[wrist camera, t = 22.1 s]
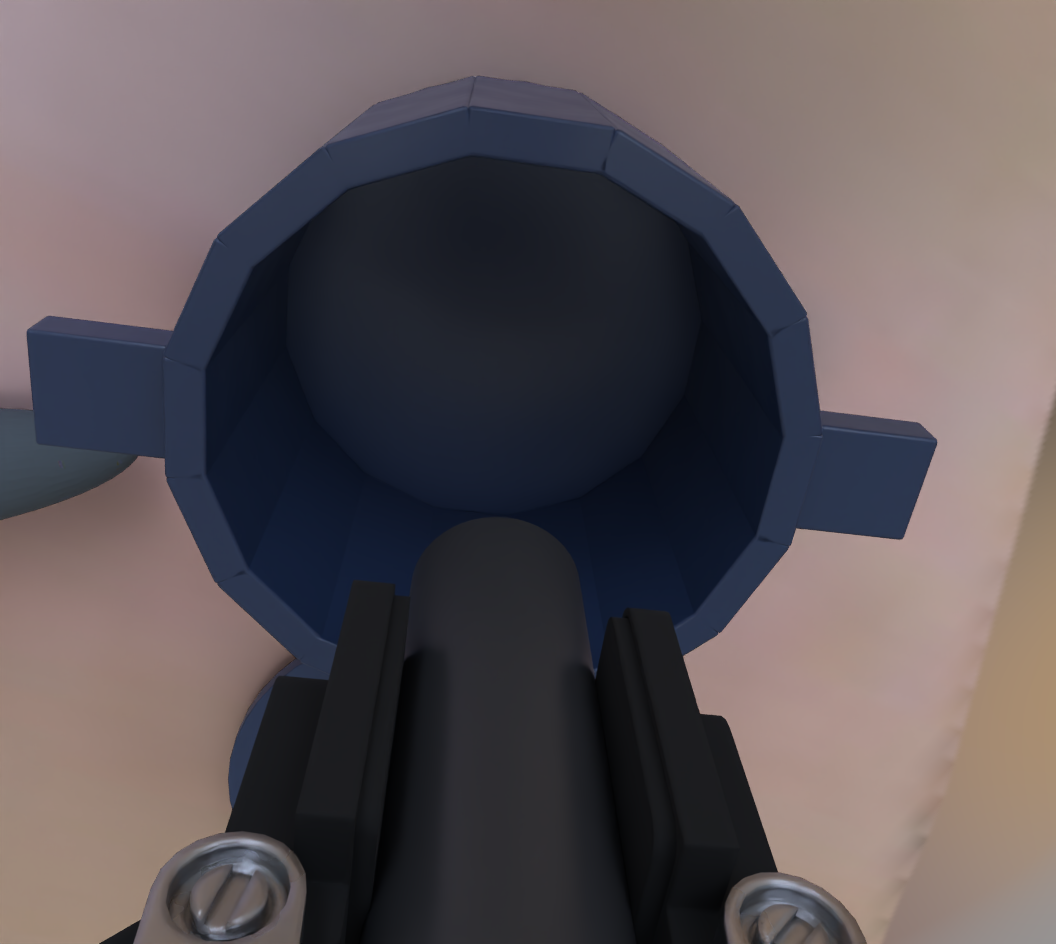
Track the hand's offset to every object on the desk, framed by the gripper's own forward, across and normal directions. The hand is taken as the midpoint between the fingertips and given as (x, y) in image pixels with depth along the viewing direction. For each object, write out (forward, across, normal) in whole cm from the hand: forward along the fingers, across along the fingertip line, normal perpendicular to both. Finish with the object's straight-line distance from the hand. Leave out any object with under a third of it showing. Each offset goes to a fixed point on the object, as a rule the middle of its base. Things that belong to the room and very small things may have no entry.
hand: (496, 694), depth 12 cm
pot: (+15, 0, 0) cm, 15 cm away
